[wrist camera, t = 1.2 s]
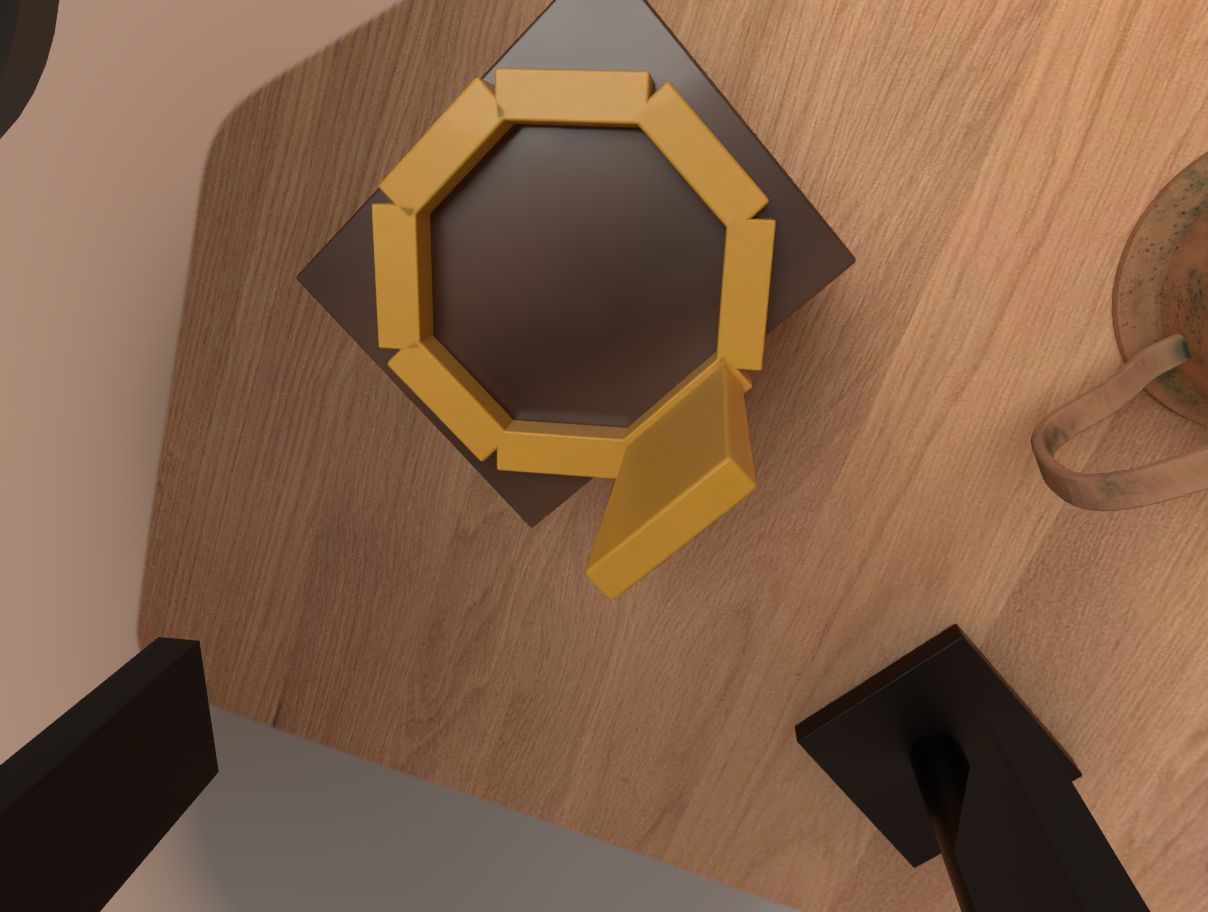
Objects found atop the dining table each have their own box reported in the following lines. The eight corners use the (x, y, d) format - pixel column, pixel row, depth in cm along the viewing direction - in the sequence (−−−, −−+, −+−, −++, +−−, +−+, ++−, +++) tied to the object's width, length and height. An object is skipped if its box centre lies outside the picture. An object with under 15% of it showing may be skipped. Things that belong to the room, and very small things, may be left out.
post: (793, 725, 40) (830, 970, 27) (955, 622, 37) (1077, 840, 25) (908, 850, 41) (993, 1138, 29) (1072, 759, 38) (1244, 1031, 26)
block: (430, 249, 35) (293, 277, 24) (642, 33, 32) (602, -55, 20) (588, 424, 37) (531, 529, 25) (808, 236, 33) (857, 260, 22)
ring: (318, 269, 24) (86, 316, 15) (580, -21, 20) (482, -175, 12) (568, 530, 25) (490, 711, 16) (848, 296, 22) (936, 365, 13)
